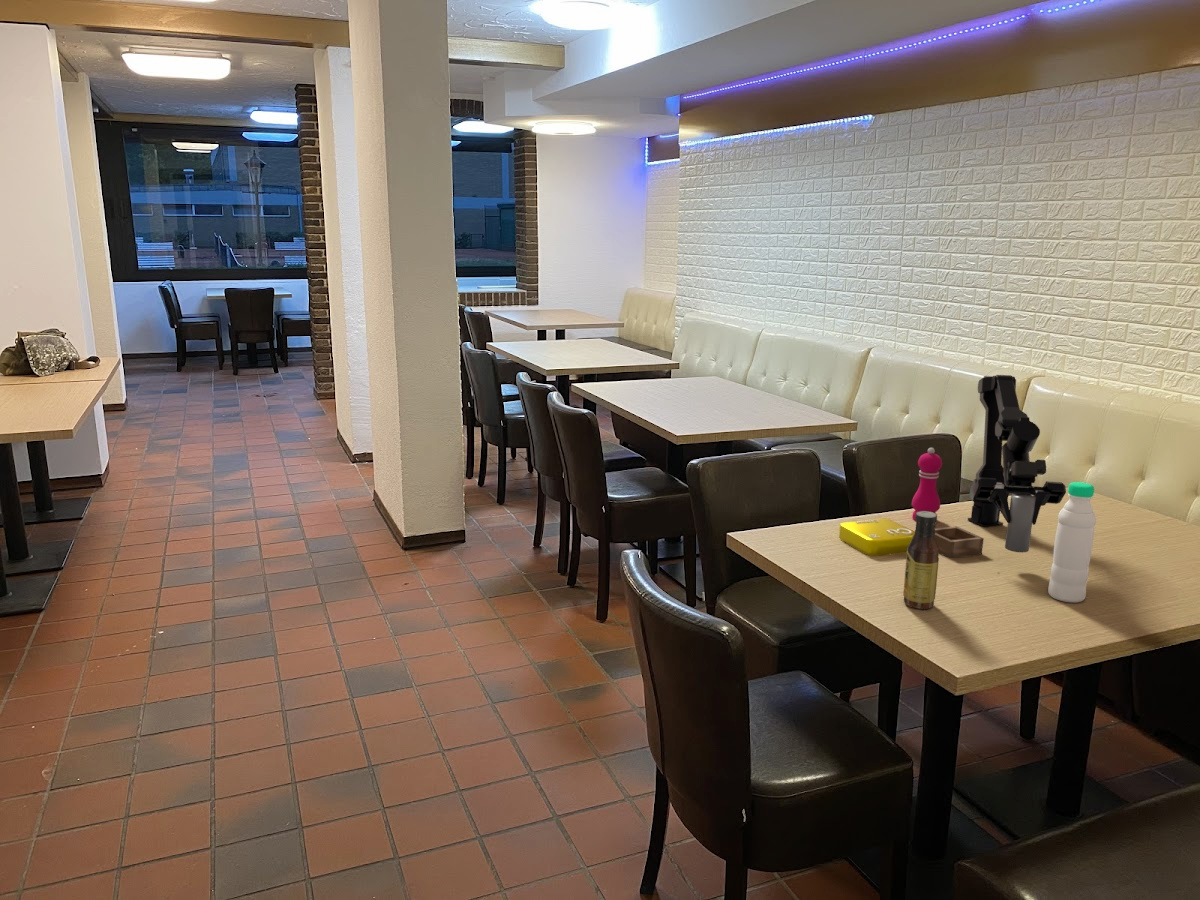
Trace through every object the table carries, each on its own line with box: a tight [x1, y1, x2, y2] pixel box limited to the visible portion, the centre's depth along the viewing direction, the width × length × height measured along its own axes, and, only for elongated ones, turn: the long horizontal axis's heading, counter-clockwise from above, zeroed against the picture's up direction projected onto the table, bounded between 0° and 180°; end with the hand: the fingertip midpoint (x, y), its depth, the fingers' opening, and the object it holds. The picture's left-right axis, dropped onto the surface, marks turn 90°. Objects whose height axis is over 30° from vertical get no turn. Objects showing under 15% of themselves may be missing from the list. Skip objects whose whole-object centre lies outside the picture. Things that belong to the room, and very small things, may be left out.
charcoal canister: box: [1004, 493, 1036, 553], centre depth 205 cm, size 5×5×12 cm
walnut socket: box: [934, 525, 984, 559], centre depth 219 cm, size 10×10×4 cm
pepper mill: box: [911, 447, 943, 522], centre depth 240 cm, size 7×7×20 cm
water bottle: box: [1047, 481, 1097, 604], centre depth 188 cm, size 7×7×25 cm
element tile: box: [838, 518, 915, 557], centre depth 223 cm, size 15×15×5 cm
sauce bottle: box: [902, 511, 940, 610], centre depth 184 cm, size 7×6×20 cm
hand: (1021, 523), depth 203 cm, fingers closed on charcoal canister, 5 cm apart
